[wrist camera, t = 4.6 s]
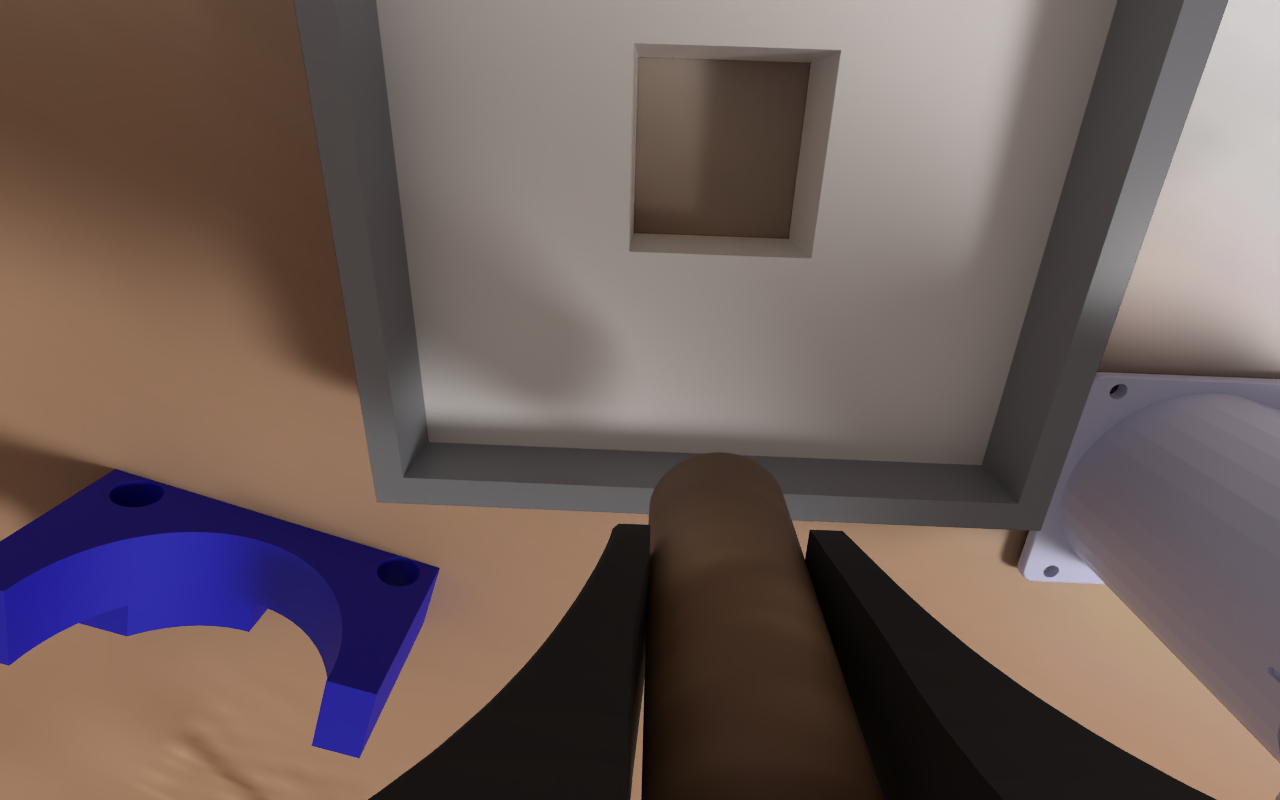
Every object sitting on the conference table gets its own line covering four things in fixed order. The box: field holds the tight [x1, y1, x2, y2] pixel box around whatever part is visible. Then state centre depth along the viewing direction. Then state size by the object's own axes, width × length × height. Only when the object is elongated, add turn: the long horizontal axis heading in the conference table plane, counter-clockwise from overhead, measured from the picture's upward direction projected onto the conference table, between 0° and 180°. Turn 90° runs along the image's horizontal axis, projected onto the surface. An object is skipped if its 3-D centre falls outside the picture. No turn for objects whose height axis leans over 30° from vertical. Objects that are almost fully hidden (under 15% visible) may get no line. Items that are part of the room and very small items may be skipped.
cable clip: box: [0, 469, 440, 758], centre depth 21 cm, size 12×4×6 cm, turn 70°
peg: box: [641, 452, 884, 800], centre depth 11 cm, size 3×3×7 cm
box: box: [294, 0, 1228, 531], centre depth 15 cm, size 18×18×5 cm
